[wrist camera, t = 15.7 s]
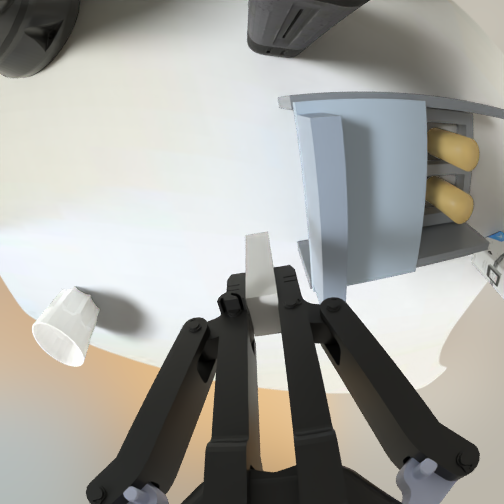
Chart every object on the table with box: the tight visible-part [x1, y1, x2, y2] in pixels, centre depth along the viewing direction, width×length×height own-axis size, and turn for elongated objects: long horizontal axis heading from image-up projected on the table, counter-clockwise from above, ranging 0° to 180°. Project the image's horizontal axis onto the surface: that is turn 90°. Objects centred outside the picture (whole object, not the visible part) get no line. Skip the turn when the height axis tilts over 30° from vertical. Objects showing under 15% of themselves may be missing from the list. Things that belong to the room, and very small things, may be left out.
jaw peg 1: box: [427, 128, 479, 171], centre depth 25 cm, size 4×4×7 cm
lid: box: [293, 98, 427, 304], centre depth 21 cm, size 18×12×6 cm, turn 10°
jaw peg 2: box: [425, 176, 474, 224], centre depth 28 cm, size 4×4×7 cm
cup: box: [32, 287, 100, 366], centre depth 36 cm, size 10×10×10 cm
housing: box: [278, 92, 504, 289], centre depth 26 cm, size 19×27×8 cm
